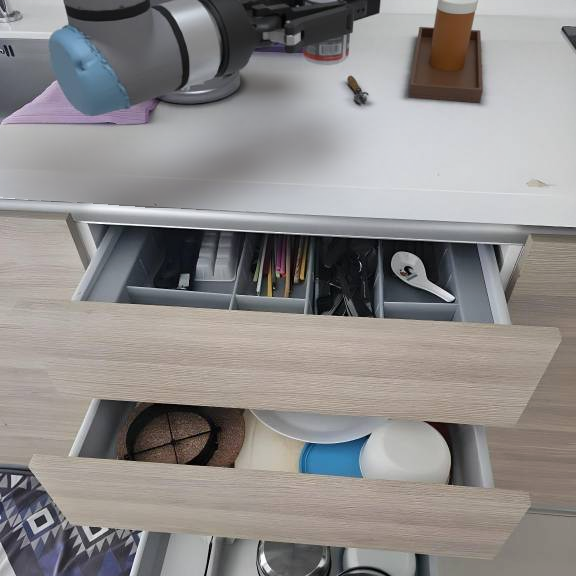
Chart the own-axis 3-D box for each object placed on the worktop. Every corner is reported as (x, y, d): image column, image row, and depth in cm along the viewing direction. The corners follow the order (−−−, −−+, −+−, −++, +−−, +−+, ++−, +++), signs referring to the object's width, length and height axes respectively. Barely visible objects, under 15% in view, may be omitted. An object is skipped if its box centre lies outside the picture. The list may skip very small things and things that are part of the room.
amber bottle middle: (421, 60, 102) (432, -7, 94) (453, 56, 103) (466, -10, 96) (438, 73, 98) (451, 5, 90) (471, 68, 99) (485, 1, 92)
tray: (417, 38, 110) (419, 26, 109) (477, 42, 109) (480, 30, 107) (408, 97, 93) (409, 84, 91) (479, 102, 91) (482, 89, 90)
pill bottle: (319, 46, 75) (322, -48, 68) (356, 55, 73) (364, -41, 65) (293, 60, 72) (293, -37, 64) (332, 70, 70) (336, -29, 62)
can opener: (346, 82, 97) (347, 75, 96) (360, 81, 97) (361, 74, 96) (356, 105, 91) (356, 98, 90) (370, 105, 91) (371, 97, 90)
